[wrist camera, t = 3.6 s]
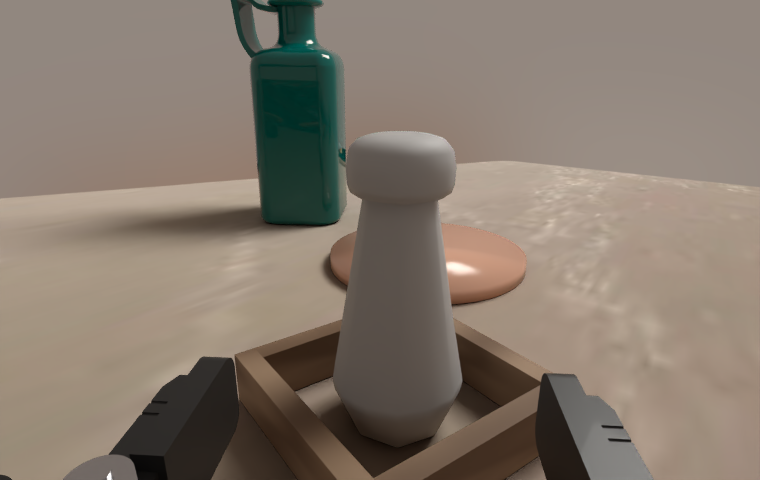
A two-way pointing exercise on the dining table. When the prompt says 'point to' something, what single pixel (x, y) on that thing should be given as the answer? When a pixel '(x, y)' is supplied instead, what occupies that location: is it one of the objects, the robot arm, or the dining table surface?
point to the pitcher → (296, 115)
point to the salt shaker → (398, 291)
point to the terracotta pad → (460, 262)
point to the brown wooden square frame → (422, 471)
